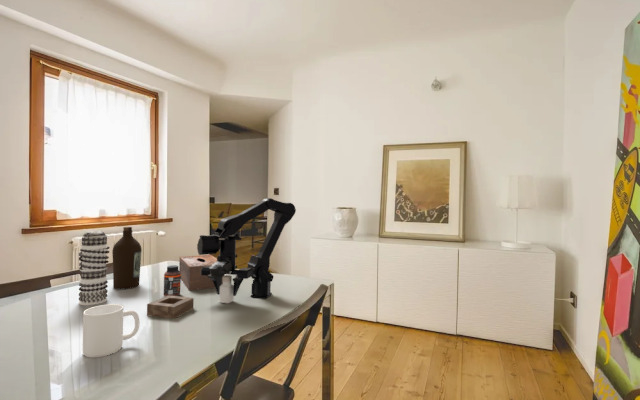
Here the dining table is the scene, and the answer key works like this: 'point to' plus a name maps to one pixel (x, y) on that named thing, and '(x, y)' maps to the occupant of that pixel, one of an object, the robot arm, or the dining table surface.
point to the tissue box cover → (196, 271)
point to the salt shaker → (226, 290)
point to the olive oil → (126, 261)
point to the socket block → (170, 306)
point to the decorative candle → (93, 268)
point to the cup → (105, 329)
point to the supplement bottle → (172, 281)
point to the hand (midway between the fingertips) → (226, 295)
